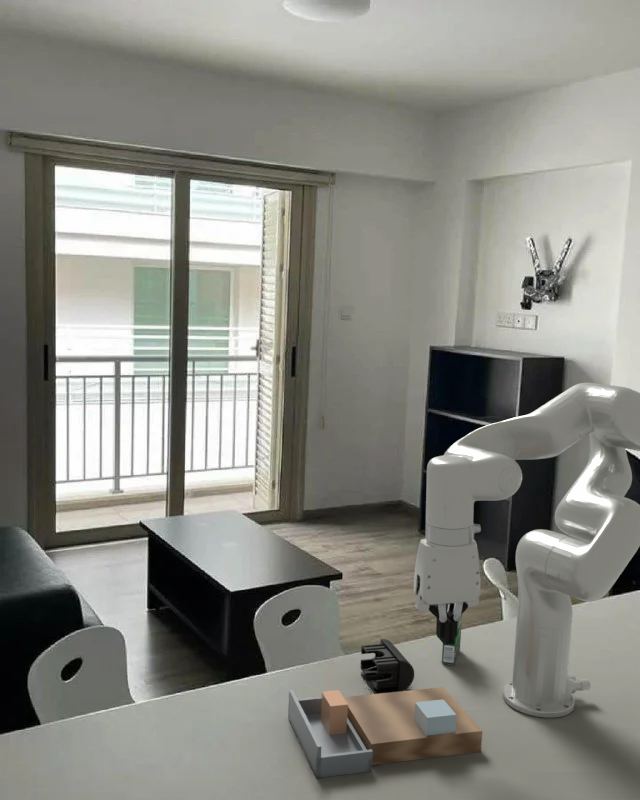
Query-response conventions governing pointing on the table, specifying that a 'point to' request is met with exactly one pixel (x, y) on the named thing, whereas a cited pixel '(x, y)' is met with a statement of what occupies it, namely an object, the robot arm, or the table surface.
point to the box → (326, 741)
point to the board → (408, 726)
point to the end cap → (386, 668)
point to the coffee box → (452, 646)
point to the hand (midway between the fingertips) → (446, 641)
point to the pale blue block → (435, 717)
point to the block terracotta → (334, 712)
